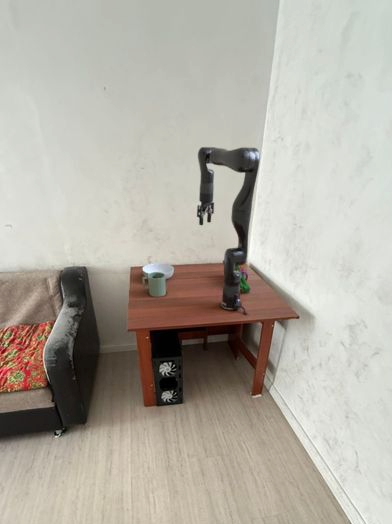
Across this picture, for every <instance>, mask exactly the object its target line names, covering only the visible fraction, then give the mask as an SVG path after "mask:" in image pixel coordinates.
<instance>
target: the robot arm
mask: <svg viewBox="0 0 392 524" xmlns="http://www.w3.org/2000/svg"><path fill="white" fill-rule="evenodd" d="M260 155H261V153H260V151H259V149H258V148H257V147H250V146H249V147H247V146H246V147H245V146H242V147H238V148H234V149H231V150H228V149H227V148H222V147H217V146H216V147H214V146H211V147H210V146H201V147H200V148H199V149H198V151H197V161H198V166H199V172H200V184H199V196H198V197H199V198H198V199H199V200H198V201H199V202H200V204H197V207H196V209H197V210H196V217H197V218H198V224H199V226H203V225H204V217H205V215H206V222H207V223H208V224H209V223H210V224H211V222H212V216H213V215H214V214H215V202H214V191H215V190H214V188H215V186H214V183H215V182H214V179H215V171H214V169H211V168H209V167H208V165H209V164H211V165H214V166H217V167H218V166H219V167H226V168H228V169H230V170H232V171H234V172H236V173H238V174H239V173H240V174H244V177H243V183H242V185H241V188H240V190H239V192H238V193H237V194H236V197H235V199H234V201H233V202H232V206H231V216H230V217H231V224H232V226H233V229H234V231H235V233H236V236H237V247H236V246H235V247H230V248H226V250H225V251H224V254H223V260H224V264H223V283H222V284H223V285H222V294H221V295H222V296H221V301H220V302H221V305H220V307H222V309H223V310H227V311H236V310H238V311H239V310H240V309H242V310H243V314H244V315H248V313H247V312H246V308H245V307H244V306H242V305H243V302H242V301H240V299H241V292H242V290H241V288H240V283H241V273H240V272H239V271H236V270H234V266H243V265H244V266H245V264H247V263H246V260H247V261H248V251H249V250H248V249H249V235H250V234H249V233H250V225H251V218H252V210H253V201H254V193H255V186H256V183H257V177H258V174H259V173H258V172H259V168H260V161H261V156H260Z"/></svg>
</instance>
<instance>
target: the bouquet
mask: <svg viewBox="0 0 392 524" xmlns="http://www.w3.org/2000/svg"><path fill="white" fill-rule="evenodd" d="M247 263H248V259H247V260H246V263H245V264H247ZM222 264H223V265H224V259H223V260H222ZM245 264H244V265H241V266H234V270H236V271H239V272H240V273H241V283H240V290H241V292H242V293H250V292H251V287H250V286H249V284H248V283H247V281H248V279H249V275H248V272H246V271H244V269H245Z"/></svg>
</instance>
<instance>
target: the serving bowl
mask: <svg viewBox="0 0 392 524" xmlns="http://www.w3.org/2000/svg"><path fill="white" fill-rule="evenodd" d="M153 272H161V273H164V274H165V278H166V280H168V279H170V278H171V277H173V275H174V272H175V268H174V266H173V265H170V264H168V263H163V262H162V263H161V262H155V263H153V262H152V263H148V264H146V265H144V266H142V273H143V276H144V277H148V274H150V273H153Z"/></svg>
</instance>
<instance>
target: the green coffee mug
mask: <svg viewBox="0 0 392 524" xmlns="http://www.w3.org/2000/svg"><path fill="white" fill-rule="evenodd" d="M155 275H156V276H159V277H161V278H158V279H157V278H153V276H155ZM145 280H147V282H148V283H147V284H148V286H146V281H145ZM166 281H167V279H166V278H165V274H164V273H161V272H153V273H150V274H148V277H146V276H142V288H143V289H144V290H148V295H149V296H151V297H154V298H160V297H164V296H165V295H166V294H167V282H166Z"/></svg>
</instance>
